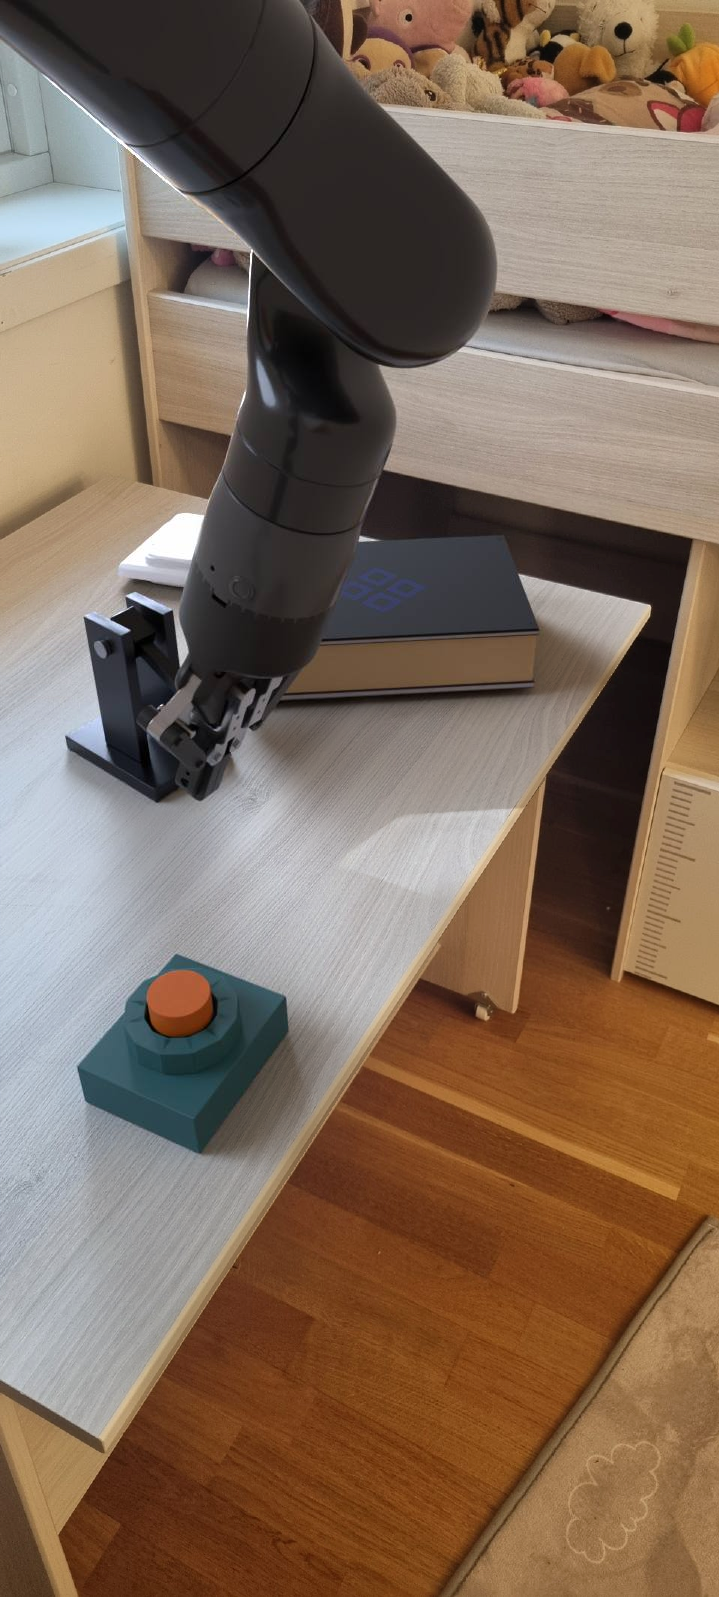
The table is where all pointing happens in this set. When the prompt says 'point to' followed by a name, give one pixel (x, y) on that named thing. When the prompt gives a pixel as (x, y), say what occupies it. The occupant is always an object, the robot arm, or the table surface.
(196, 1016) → the power button
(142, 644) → the switch lever
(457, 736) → the table surface
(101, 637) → the black pivot stand
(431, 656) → the book
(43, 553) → the table surface
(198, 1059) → the orange push button box
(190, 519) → the light switch
